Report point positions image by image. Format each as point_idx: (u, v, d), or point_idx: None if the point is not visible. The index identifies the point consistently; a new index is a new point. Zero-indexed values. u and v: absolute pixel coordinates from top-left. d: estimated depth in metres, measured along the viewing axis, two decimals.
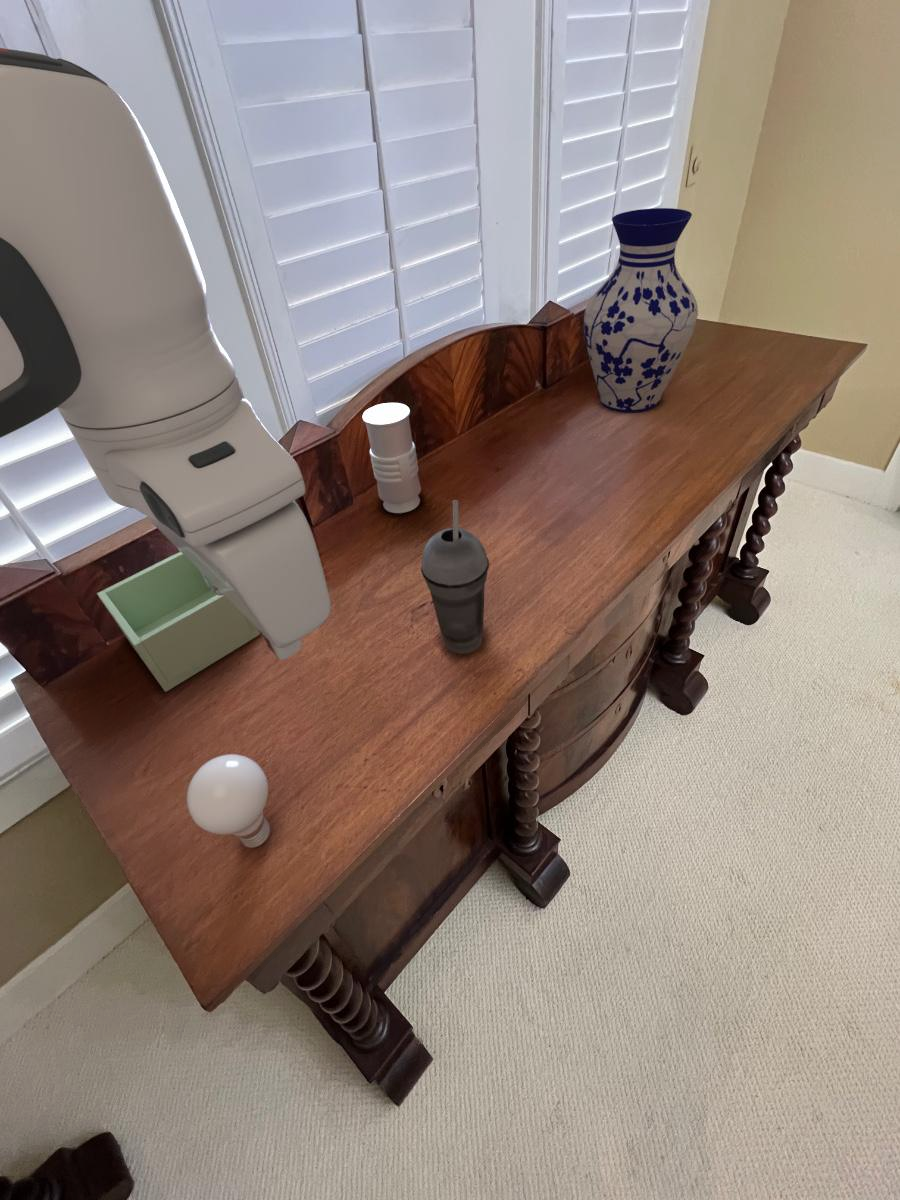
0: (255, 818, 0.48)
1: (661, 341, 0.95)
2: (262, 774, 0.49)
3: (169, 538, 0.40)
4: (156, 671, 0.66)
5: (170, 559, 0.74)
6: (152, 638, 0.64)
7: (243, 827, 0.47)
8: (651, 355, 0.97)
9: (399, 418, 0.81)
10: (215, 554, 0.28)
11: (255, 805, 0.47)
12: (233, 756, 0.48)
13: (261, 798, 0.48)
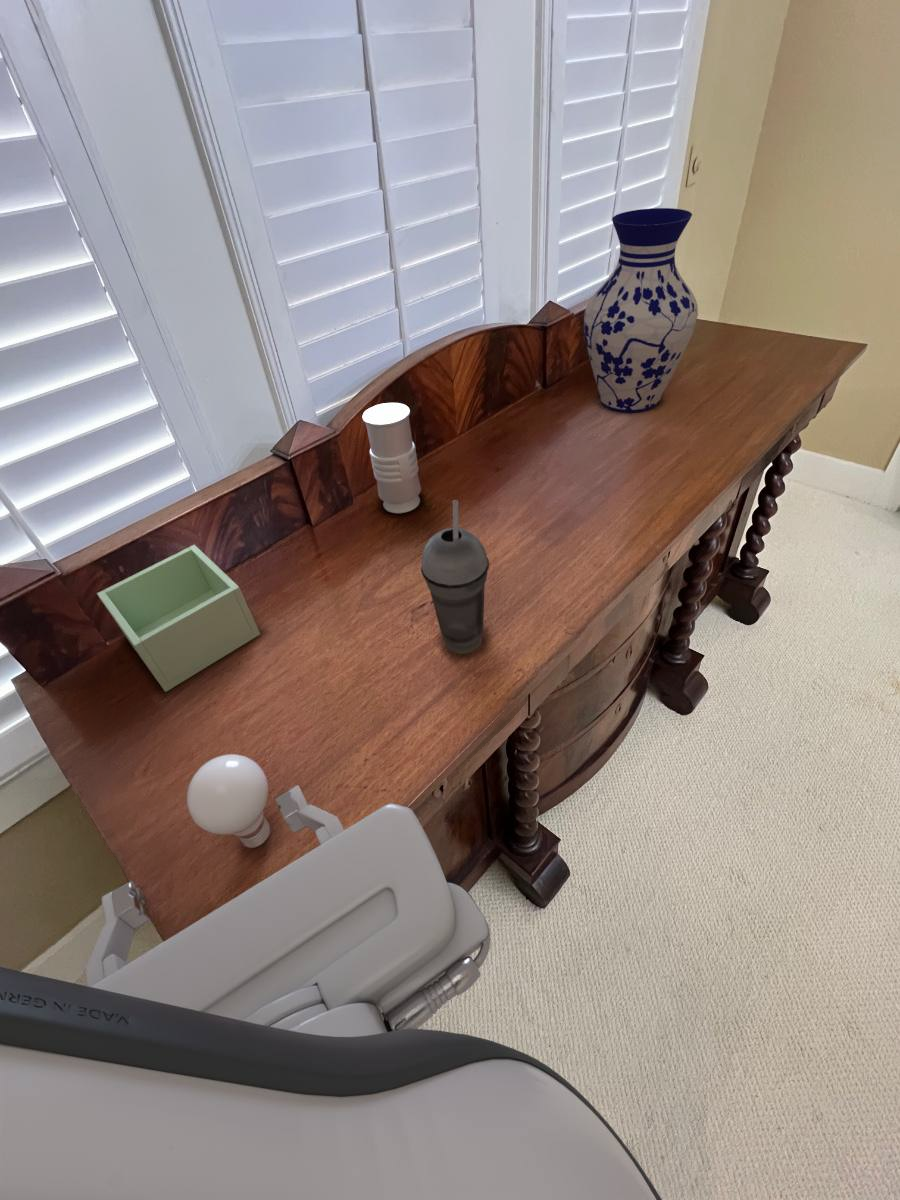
0: (255, 818, 0.48)
1: (661, 341, 0.95)
2: (262, 774, 0.49)
3: (323, 858, 0.29)
4: (156, 671, 0.66)
5: (170, 559, 0.74)
6: (152, 638, 0.64)
7: (243, 827, 0.47)
8: (651, 355, 0.97)
9: (399, 418, 0.81)
10: None
11: (255, 805, 0.47)
12: (233, 756, 0.48)
13: (261, 798, 0.48)
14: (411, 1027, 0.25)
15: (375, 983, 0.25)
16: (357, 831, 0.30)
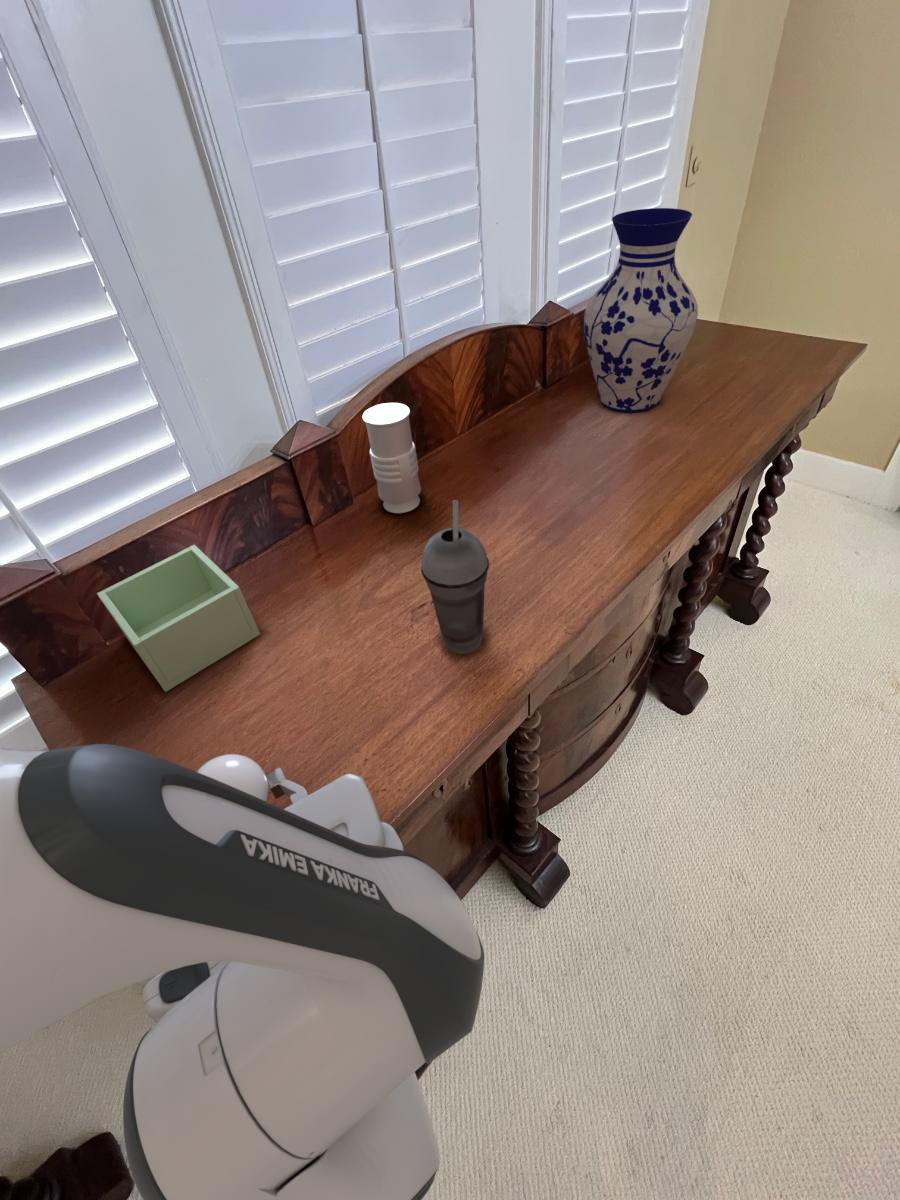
0: None
1: (661, 341, 0.95)
2: (262, 774, 0.49)
3: (305, 805, 0.47)
4: (156, 671, 0.66)
5: (170, 559, 0.74)
6: (152, 638, 0.64)
7: None
8: (651, 355, 0.97)
9: (399, 418, 0.81)
10: (144, 980, 0.38)
11: None
12: (233, 756, 0.48)
13: (261, 798, 0.48)
14: None
15: None
16: (326, 790, 0.48)
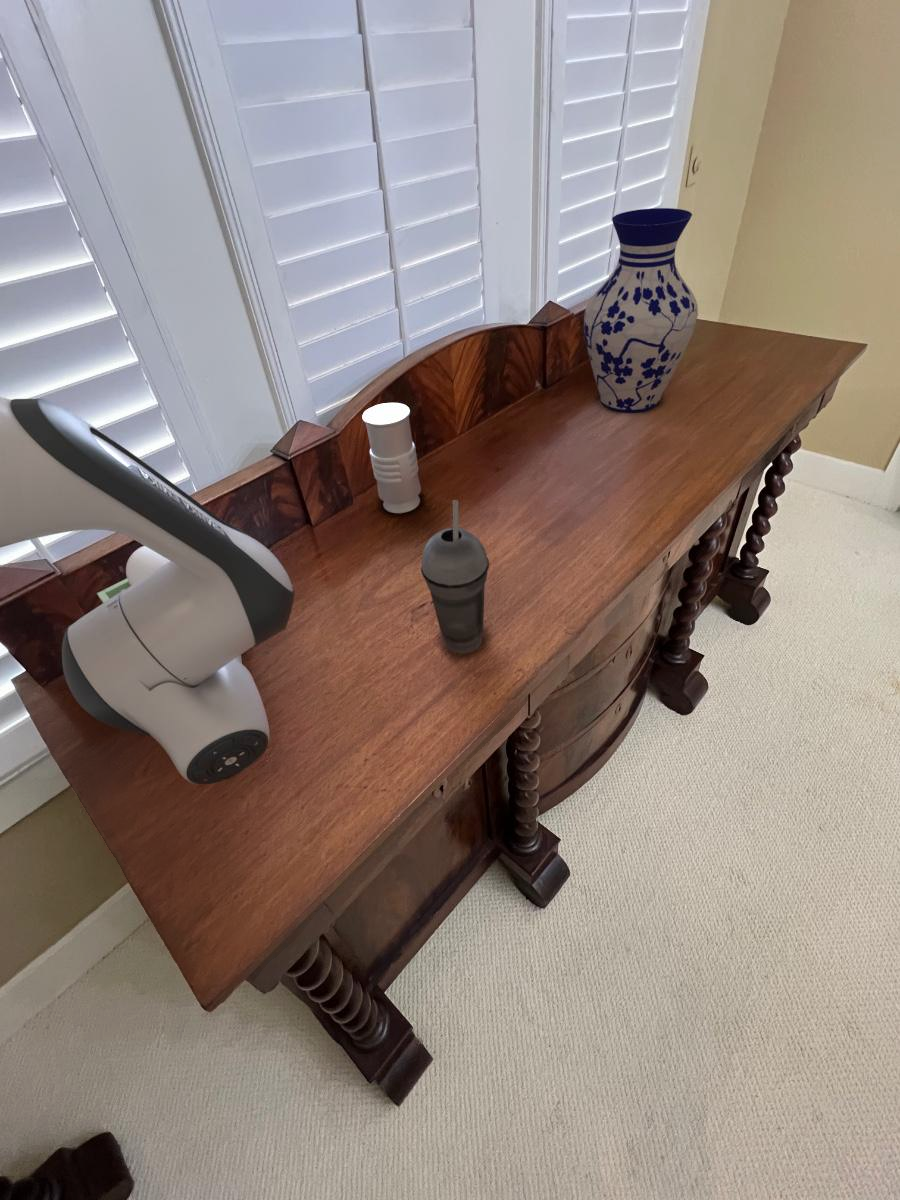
0: None
1: (661, 341, 0.95)
2: None
3: None
4: None
5: None
6: None
7: None
8: (651, 355, 0.97)
9: (399, 418, 0.81)
10: None
11: None
12: None
13: None
14: None
15: None
16: None
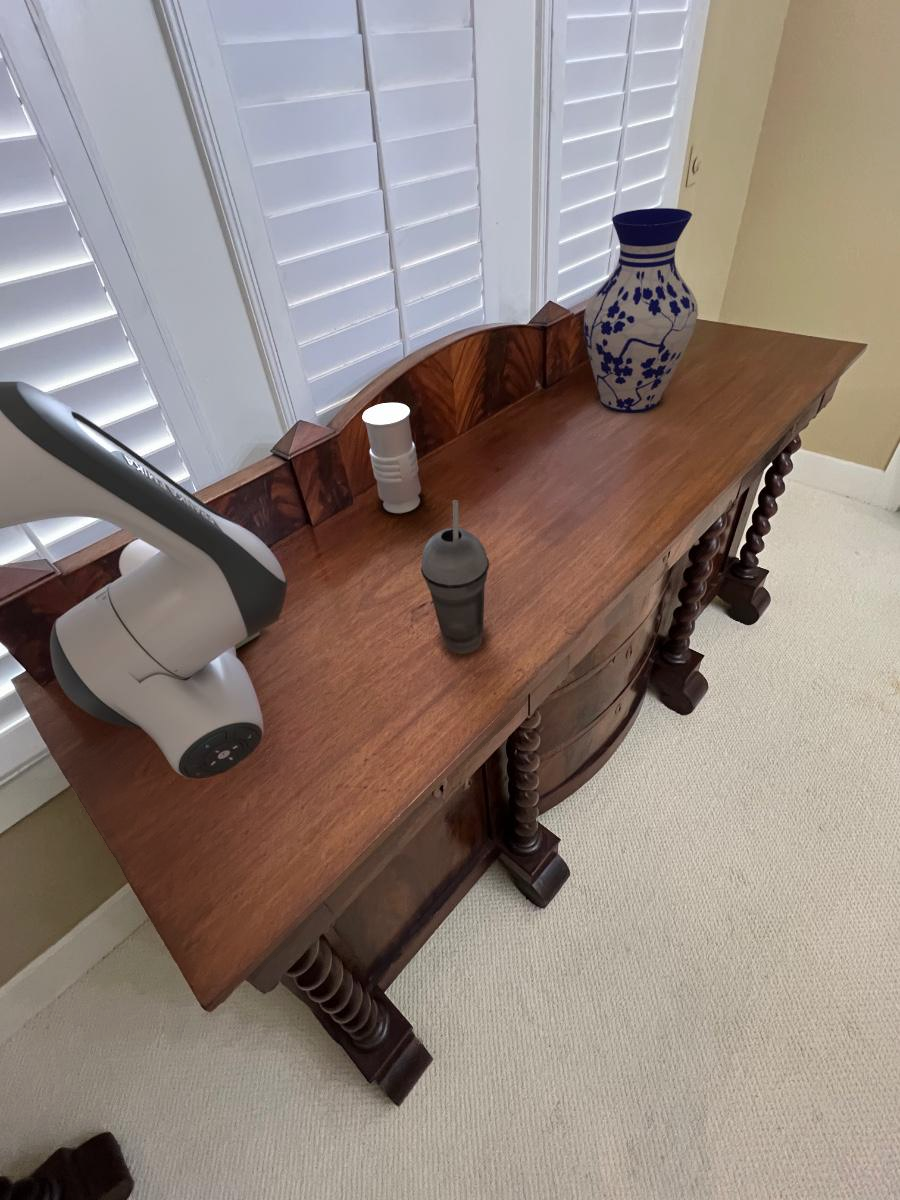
0: None
1: (661, 341, 0.95)
2: None
3: None
4: None
5: None
6: None
7: None
8: (651, 355, 0.97)
9: (399, 418, 0.81)
10: None
11: None
12: None
13: None
14: None
15: None
16: None
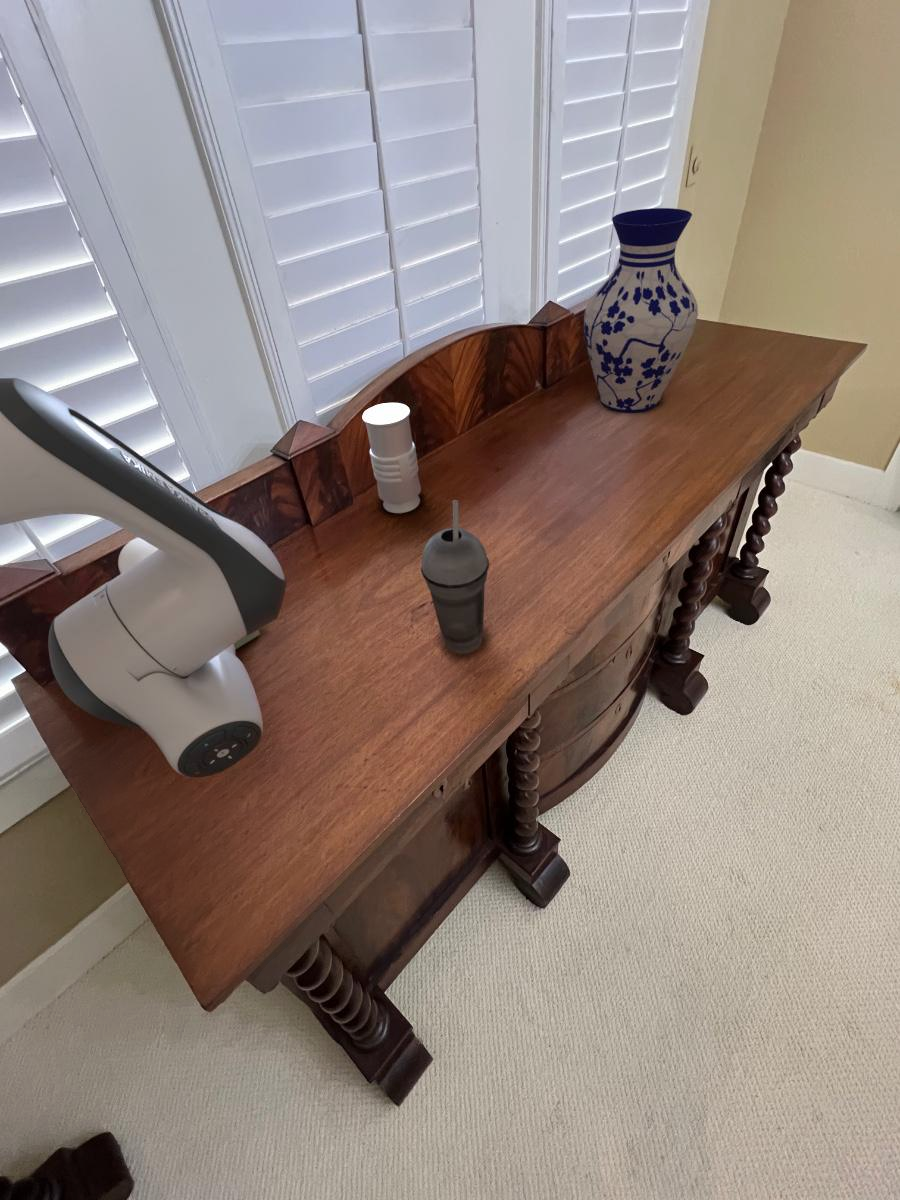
0: None
1: (661, 341, 0.95)
2: None
3: None
4: None
5: None
6: None
7: None
8: (651, 355, 0.97)
9: (399, 418, 0.81)
10: None
11: None
12: None
13: None
14: None
15: None
16: None
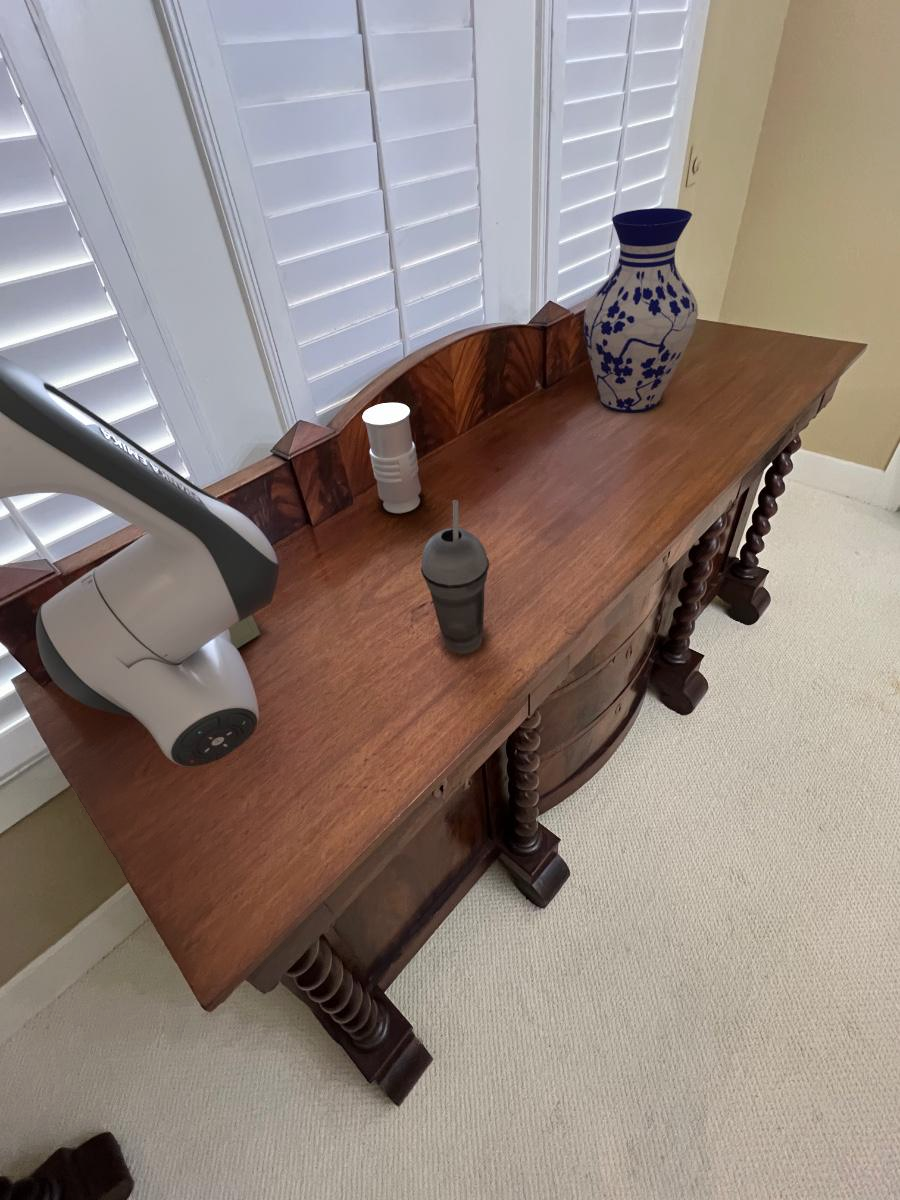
0: None
1: (661, 341, 0.95)
2: None
3: None
4: None
5: None
6: None
7: None
8: (651, 355, 0.97)
9: (399, 418, 0.81)
10: None
11: None
12: None
13: None
14: None
15: None
16: None
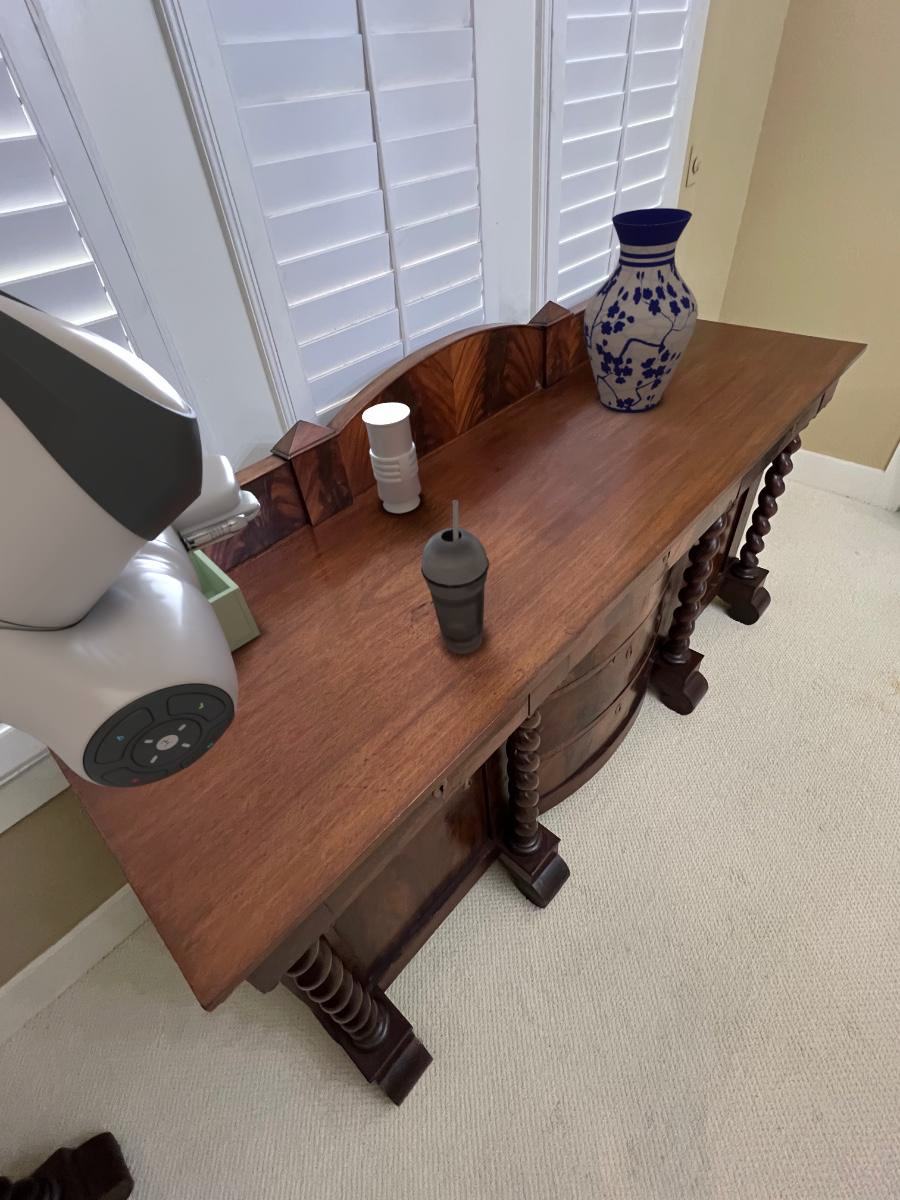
0: None
1: (661, 341, 0.95)
2: None
3: None
4: None
5: None
6: None
7: None
8: (651, 355, 0.97)
9: (399, 418, 0.81)
10: None
11: None
12: None
13: None
14: (196, 539, 0.40)
15: None
16: None
